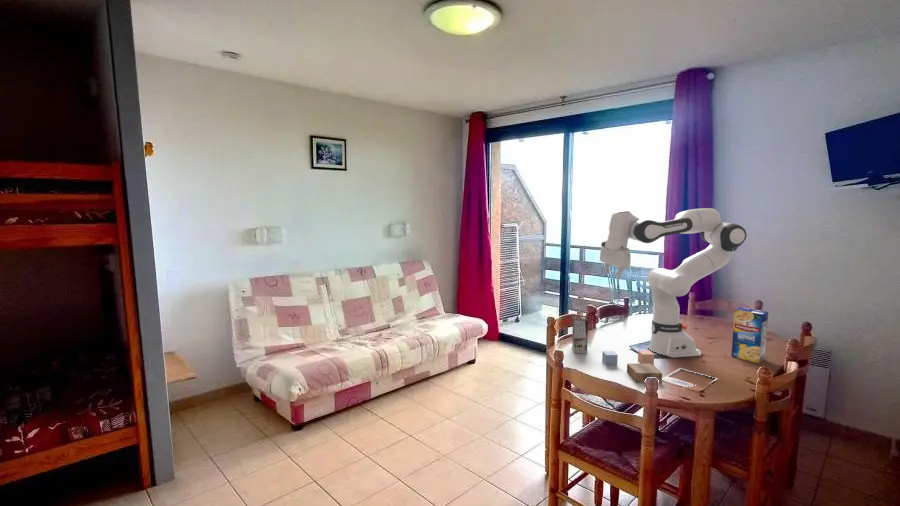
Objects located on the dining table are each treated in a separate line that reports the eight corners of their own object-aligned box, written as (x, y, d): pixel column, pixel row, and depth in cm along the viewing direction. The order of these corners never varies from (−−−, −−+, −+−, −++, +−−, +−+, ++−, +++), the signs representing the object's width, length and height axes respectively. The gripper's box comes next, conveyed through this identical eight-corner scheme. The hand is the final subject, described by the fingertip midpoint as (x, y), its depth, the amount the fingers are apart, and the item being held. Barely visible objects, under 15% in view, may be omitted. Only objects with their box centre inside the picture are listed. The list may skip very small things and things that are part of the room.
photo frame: (660, 378, 172) (680, 367, 183) (660, 381, 172) (679, 370, 183) (699, 391, 160) (718, 378, 172) (699, 393, 160) (717, 380, 172)
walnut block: (651, 372, 179) (651, 363, 179) (661, 382, 169) (662, 373, 169) (626, 372, 180) (627, 363, 179) (635, 382, 170) (636, 373, 169)
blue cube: (613, 361, 192) (613, 351, 192) (617, 366, 187) (617, 355, 187) (602, 361, 193) (602, 350, 192) (605, 365, 188) (605, 354, 187)
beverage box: (759, 363, 188) (763, 314, 185) (731, 356, 197) (734, 309, 194) (764, 359, 192) (768, 311, 189) (737, 352, 201) (740, 307, 198)
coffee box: (587, 353, 202) (588, 320, 200) (573, 353, 204) (574, 320, 202) (585, 347, 211) (586, 315, 209) (571, 346, 212) (572, 314, 210)
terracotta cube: (649, 361, 192) (649, 350, 192) (653, 365, 187) (654, 354, 187) (637, 361, 193) (638, 350, 192) (642, 365, 188) (642, 354, 187)
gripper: (636, 248, 189) (631, 279, 191) (611, 243, 209) (607, 271, 211) (623, 247, 188) (618, 278, 190) (599, 242, 208) (595, 270, 210)
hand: (612, 274), depth 200 cm, fingers open, 8 cm apart
